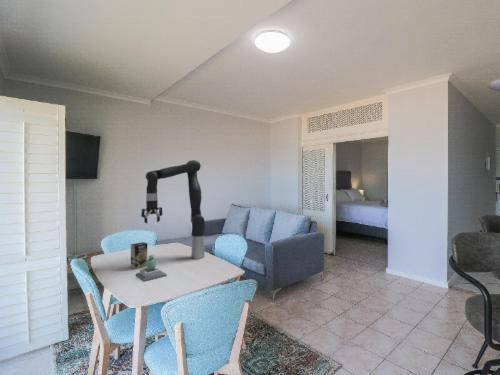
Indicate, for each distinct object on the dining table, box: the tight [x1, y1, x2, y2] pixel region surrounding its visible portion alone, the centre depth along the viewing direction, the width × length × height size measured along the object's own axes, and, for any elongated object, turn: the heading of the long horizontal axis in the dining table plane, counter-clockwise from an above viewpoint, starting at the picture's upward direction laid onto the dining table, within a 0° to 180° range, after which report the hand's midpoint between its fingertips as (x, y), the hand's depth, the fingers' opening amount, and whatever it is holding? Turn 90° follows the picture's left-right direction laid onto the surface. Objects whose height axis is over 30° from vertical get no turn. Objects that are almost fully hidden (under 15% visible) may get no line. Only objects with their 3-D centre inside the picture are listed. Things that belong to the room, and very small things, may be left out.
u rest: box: [135, 266, 168, 282], centre depth 168 cm, size 14×14×4 cm
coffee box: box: [130, 241, 148, 270], centre depth 183 cm, size 9×6×16 cm
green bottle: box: [146, 254, 157, 272], centre depth 168 cm, size 5×5×12 cm
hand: (152, 222), depth 188 cm, fingers open, 8 cm apart
